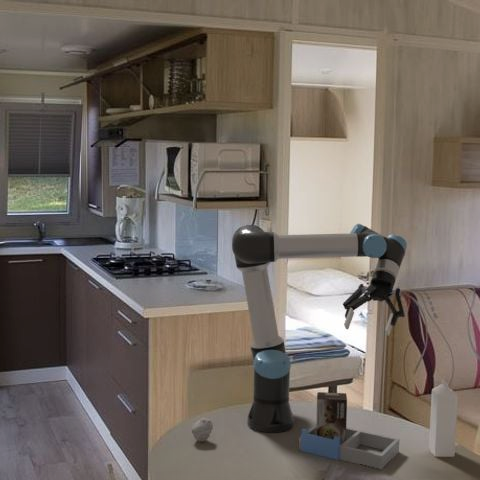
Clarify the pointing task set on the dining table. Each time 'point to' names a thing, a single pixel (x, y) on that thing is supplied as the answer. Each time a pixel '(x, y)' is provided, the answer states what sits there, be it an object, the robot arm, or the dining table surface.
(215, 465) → the dining table surface
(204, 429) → the grey lumpy rounded piece
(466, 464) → the dining table surface
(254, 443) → the dining table surface
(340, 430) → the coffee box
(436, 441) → the milk
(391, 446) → the two-compartment sorting tray
